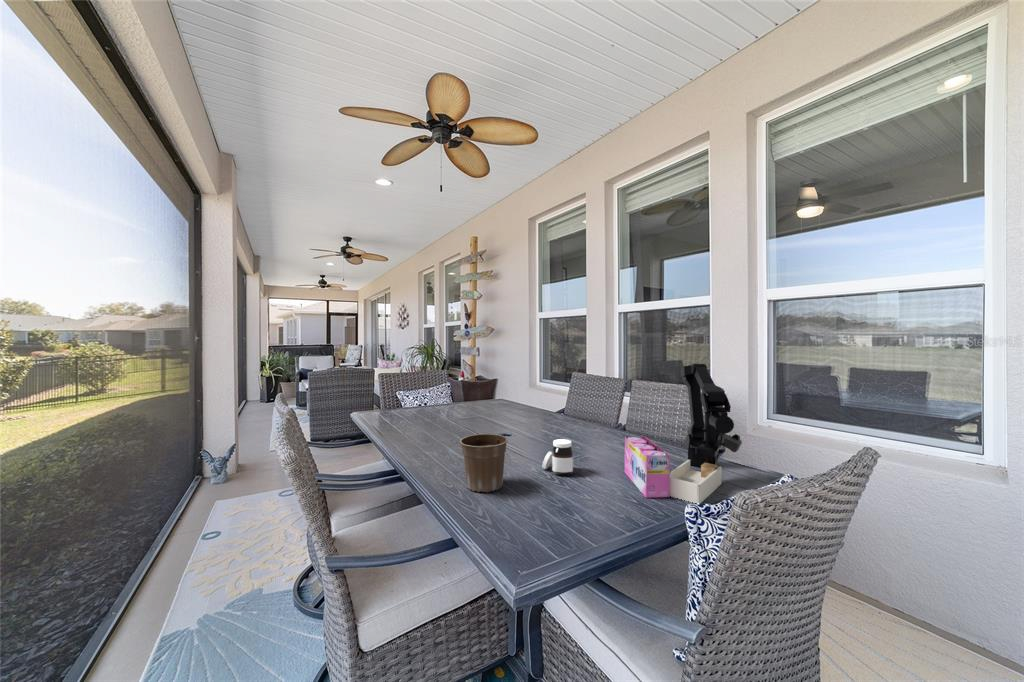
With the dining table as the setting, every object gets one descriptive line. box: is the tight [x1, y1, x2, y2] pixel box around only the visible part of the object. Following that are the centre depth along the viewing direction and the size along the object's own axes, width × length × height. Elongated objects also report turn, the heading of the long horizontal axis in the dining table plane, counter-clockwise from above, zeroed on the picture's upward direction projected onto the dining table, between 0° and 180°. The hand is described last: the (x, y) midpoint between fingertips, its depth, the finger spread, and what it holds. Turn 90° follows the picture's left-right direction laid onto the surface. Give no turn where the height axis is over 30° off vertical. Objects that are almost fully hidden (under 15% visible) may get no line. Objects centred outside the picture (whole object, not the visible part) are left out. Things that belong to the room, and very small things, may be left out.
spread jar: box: [541, 438, 574, 477], centre depth 152 cm, size 12×11×12 cm
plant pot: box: [459, 433, 508, 493], centre depth 139 cm, size 16×16×16 cm
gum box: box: [624, 435, 671, 498], centre depth 140 cm, size 24×8×14 cm, turn 2°
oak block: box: [700, 463, 718, 478], centre depth 139 cm, size 4×4×4 cm
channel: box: [669, 459, 723, 504], centre depth 135 cm, size 11×22×6 cm, turn 137°
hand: (713, 470), depth 142 cm, fingers closed
